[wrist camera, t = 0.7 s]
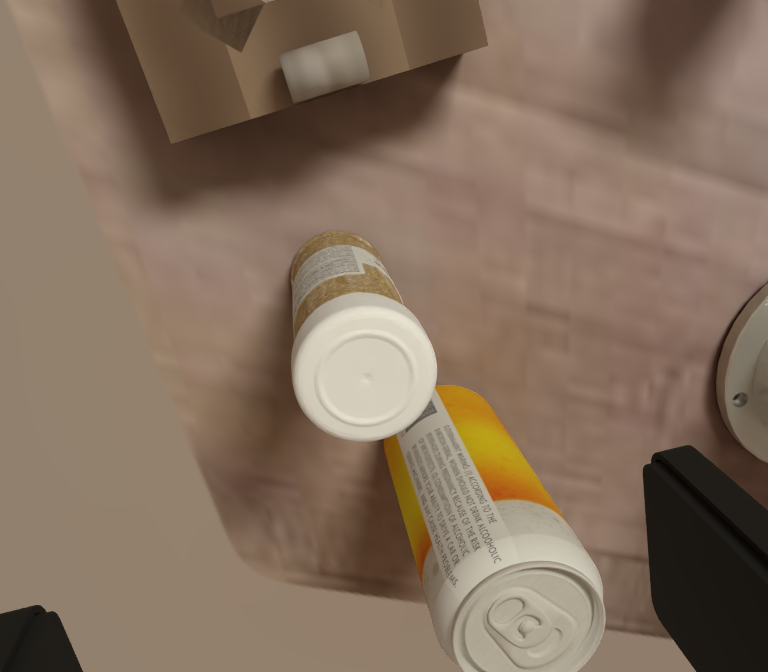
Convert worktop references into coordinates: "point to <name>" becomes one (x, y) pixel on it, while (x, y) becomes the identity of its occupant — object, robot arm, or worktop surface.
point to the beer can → (492, 544)
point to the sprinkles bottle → (355, 342)
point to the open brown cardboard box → (283, 51)
